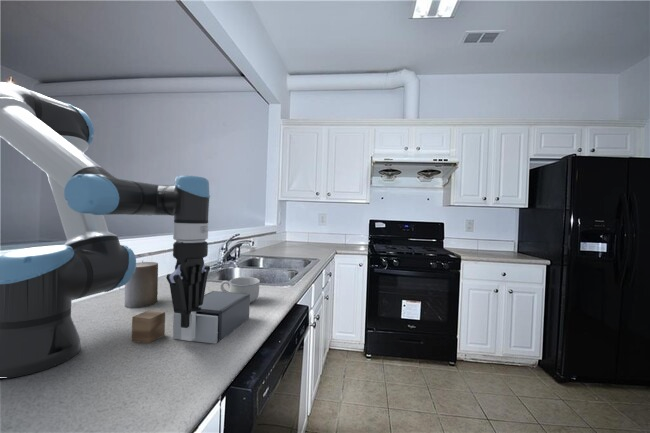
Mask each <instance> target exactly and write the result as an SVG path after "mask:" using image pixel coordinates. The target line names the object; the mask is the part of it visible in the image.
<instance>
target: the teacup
mask: <svg viewBox="0 0 650 433" xmlns="http://www.w3.org/2000/svg"><path fill="white" fill-rule="evenodd" d="M260 282H261V281H260V278H257V277H250V276H242V277H234V278H232V279H230V280H223V281H222V282H221V283H220V291H221V292H233V293H245V294H250V304H251V303H253V302H254V301H255V300H257V299H258V297H259V294H260ZM225 284H226V285H227V286H228V288H229V290H226V289H225V288H224V285H225Z"/></svg>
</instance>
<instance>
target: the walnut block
mask: <svg viewBox="0 0 650 433" xmlns="http://www.w3.org/2000/svg"><path fill="white" fill-rule="evenodd" d="M131 318H132V319H131V342H136V343H144V344H151V343H152V342H154V341H157V340H158V339H160V338H162V337H164V336H165V334H166V332H165V330H166V329H165V328H166V311H162V310H161V311H160V310H159V311H157V310H149V309H148V310H147V311H146V310H145V311H143V312H141V313H139V314H135V315H133V316H132V317H131Z"/></svg>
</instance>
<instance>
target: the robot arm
mask: <svg viewBox="0 0 650 433" xmlns="http://www.w3.org/2000/svg"><path fill="white" fill-rule="evenodd" d="M93 135H95V129H94V124H93V122H92V120H91V118H90V117H89V115H88V114H87V113H86V112H85V111H84V110H82V109H80V108H78V107H75V106H73V105H72V104H70V103H69V102H65V101H60V100H57V99H54V98H51V97H50V96H49V97H48V96H46V95H44V94H41V93H39V92H36V91H33V90H30V89H28V88H26V87H23V86H20V85H18V84H14V83H11V82H10V83H9V82H5V81H4V82H3V81H0V139H2V140H4V141H5V142H6V143H8V145H10V146H11V147H12V148H14V149H15V150H17V151H18V152H19V153H20V154H21V155H23V157H24V158H27V160H29V161H30V162H31V163H33V164H34V165H35V166H37V167H38V168H39V169H40V170H41V171H43V172H44V173H45V174H46V176H47V179H48V183H49V186H50V189H51V192H52V196H53V198H54V202H55V204H56V207H57V208H56V209H57V211H58V215H59V218H60V222H61V225H62V228H63V231H64V234H65V239H66V242H64V244H61V245H59V244H55V245H45V246H35V247H28V248H22V249H17V250H13V251H9V252H6V253H4V254H1V255H0V377H9V378H8V379H12V378H18V377H22V376H26V375H32V374H34V373H35V374H36V373H39V372H43V371H45V370H47V369H50V368H53V367H56V366H58V365H60V364H62V363H65V362H66V361H68V360H70V359H72V358H73V357H75V356H76V355H77V354H78V353H79V352H80V350H81V337H80V334H79V332H78V330H77V328H76V325H75V323H74V321H73V318H72V301H76V300H78V299H82V298H85V297H91V296H93V295H94V296H95V295H97V294H101V293H108V292H111V291H113V290H115V289H117V288H121V287H123V286H125V284H126V283H127V282H129V280H130V279H131V278H132V275H133V274H134V272H135V269H136V263H137V257H136V255H135V252H134V251H133V249H132V248H129V246H127V245H124V244H121V243H120V240H119V237H118V235H117V234H114V233H113V232H111V231H109V229H108V225H107V221H106V219H105V215H109V216H110V215H113V216H114V215H126V216H127V215H129V216H134V215H135V216H172V217H173V232H172V233H173V235H172V237H173V240H174V243H172V244H173V245H172V246H173V247H172V257H173V258H174V259H175V260H176V262H175V266H174V271H173V272H172V273H168V274H167V275H166V281H167V282H168V284H169V288H170V294H171V296H170V297H171V302H172V308H173V309H172V310H173V314H174V313H180V314H181V339H180V341H189V342H193V341H192V340H194V339H195V328H196V311H200V310H201V307H199V306H201V305H202V304H203V300H204V295H205V294H206V287H207V281H208V275H209V272H210V270H211V266H210V265H206V264H205V260H204V258H206V257H208V254H209V253H208V252H209V248H208V247H209V242H207V241H206V240H208V239H209V211H210V209H209V208H210V198H211V195H210V183H209V180H208V179H207V178H206V177H202V176H196V175H177V176H176V177H175V181H174V184H154V183H148V182H143V181H141V182H140V181H135V180H129V179H122V178H117V176H116V177H115V176H114V175H113V174H112V173H110V172H108V171H107V170H106V169H104V168H103V167H102V166H100V164H98V163H97V162H95V161H94V160H93V159H92V158H90V157H89V156H88V155H86V154H85V152H87V151H88V149H89V146H90V144H92V142H93V140H94V137H93ZM11 377H12V378H11Z"/></svg>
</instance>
